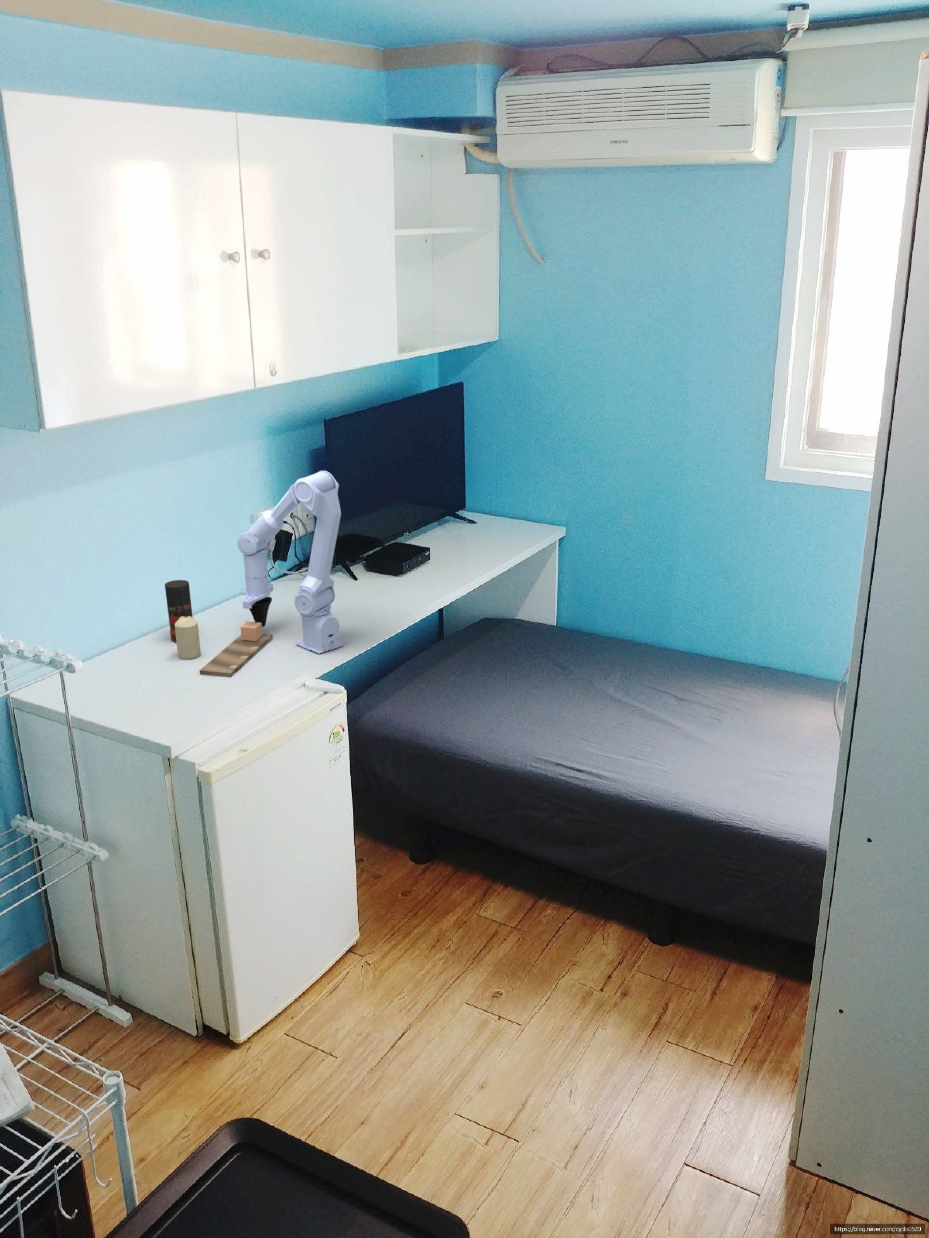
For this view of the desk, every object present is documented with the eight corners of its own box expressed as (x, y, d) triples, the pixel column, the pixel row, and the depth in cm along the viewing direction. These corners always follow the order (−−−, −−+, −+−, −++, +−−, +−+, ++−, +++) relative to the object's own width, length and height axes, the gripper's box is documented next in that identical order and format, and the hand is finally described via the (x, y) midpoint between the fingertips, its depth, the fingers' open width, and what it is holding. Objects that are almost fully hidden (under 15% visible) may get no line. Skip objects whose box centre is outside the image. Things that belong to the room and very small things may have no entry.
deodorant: (167, 638, 277) (160, 583, 272) (188, 632, 281) (182, 578, 275) (177, 644, 273) (171, 589, 268) (198, 639, 276) (193, 584, 271)
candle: (173, 656, 266) (169, 619, 262) (190, 649, 270) (186, 612, 266) (189, 661, 263) (184, 623, 259) (205, 654, 267) (201, 616, 263)
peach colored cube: (248, 634, 276) (246, 621, 274) (262, 635, 275) (261, 622, 274) (241, 639, 272) (240, 627, 271) (256, 641, 271) (255, 628, 270)
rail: (243, 636, 278) (243, 632, 278) (272, 638, 276) (272, 634, 276) (199, 674, 255) (199, 670, 255) (231, 677, 253) (230, 672, 253)
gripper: (253, 566, 281) (258, 614, 286) (229, 583, 268) (234, 634, 273) (279, 567, 279) (282, 616, 284) (256, 585, 266) (260, 636, 271)
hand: (260, 625), depth 278 cm, fingers closed
